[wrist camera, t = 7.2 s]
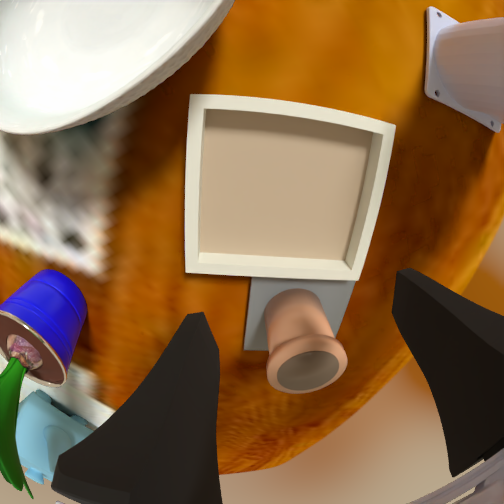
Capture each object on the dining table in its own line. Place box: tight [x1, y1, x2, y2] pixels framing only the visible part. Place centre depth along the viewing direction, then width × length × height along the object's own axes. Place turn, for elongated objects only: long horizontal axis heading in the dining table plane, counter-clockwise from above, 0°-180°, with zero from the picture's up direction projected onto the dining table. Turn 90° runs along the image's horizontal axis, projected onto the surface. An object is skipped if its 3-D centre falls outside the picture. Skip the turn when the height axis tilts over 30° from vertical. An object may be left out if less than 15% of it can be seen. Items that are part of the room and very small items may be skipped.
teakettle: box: [16, 390, 94, 484], centre depth 26 cm, size 19×19×15 cm
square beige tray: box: [185, 94, 396, 280], centre depth 17 cm, size 12×11×2 cm
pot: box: [264, 288, 347, 394], centre depth 19 cm, size 5×5×6 cm
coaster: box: [244, 276, 356, 351], centre depth 22 cm, size 8×8×1 cm
